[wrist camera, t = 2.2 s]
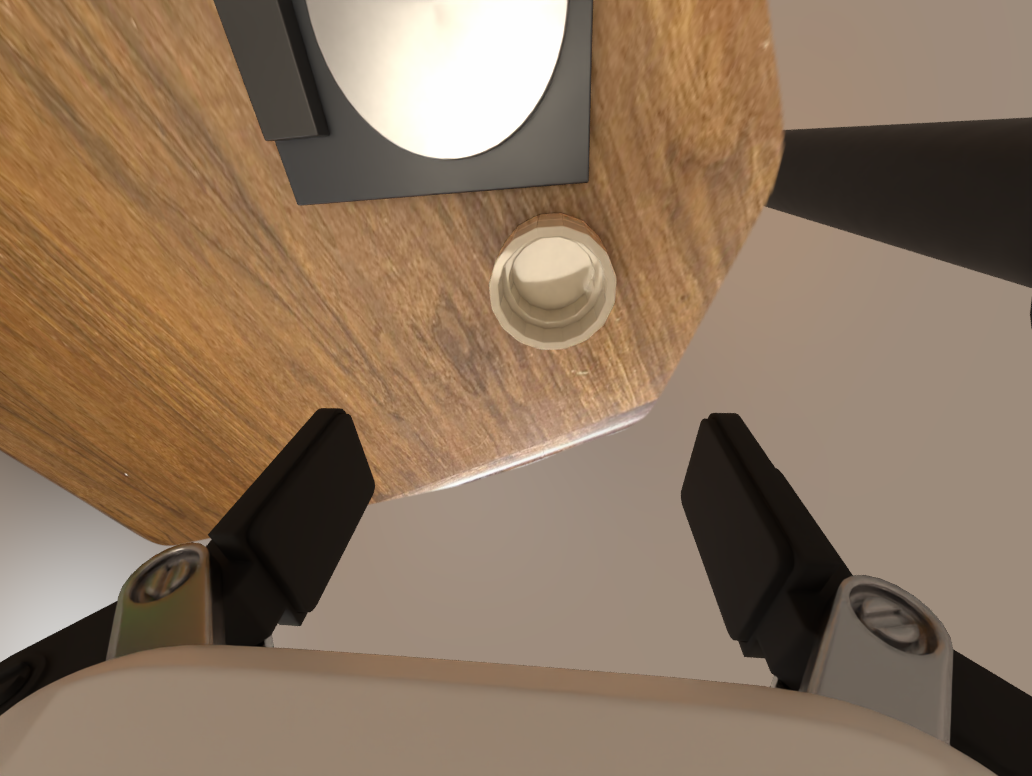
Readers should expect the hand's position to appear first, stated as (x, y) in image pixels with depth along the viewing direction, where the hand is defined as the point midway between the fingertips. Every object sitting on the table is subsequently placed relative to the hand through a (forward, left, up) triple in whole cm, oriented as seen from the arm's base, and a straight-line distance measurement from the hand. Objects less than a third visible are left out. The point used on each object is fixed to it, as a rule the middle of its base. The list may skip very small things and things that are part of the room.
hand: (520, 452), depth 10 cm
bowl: (-1, 0, -17) cm, 17 cm away
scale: (+5, -12, -17) cm, 21 cm away
